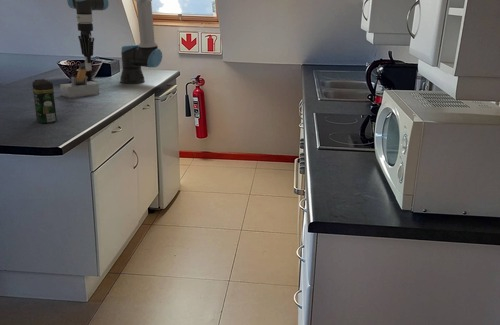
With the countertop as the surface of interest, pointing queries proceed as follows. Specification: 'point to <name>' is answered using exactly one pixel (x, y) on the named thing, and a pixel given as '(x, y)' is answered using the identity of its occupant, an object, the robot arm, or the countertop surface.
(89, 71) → the coffee mug
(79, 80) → the lever
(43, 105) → the coffee jar
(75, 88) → the breaker box
